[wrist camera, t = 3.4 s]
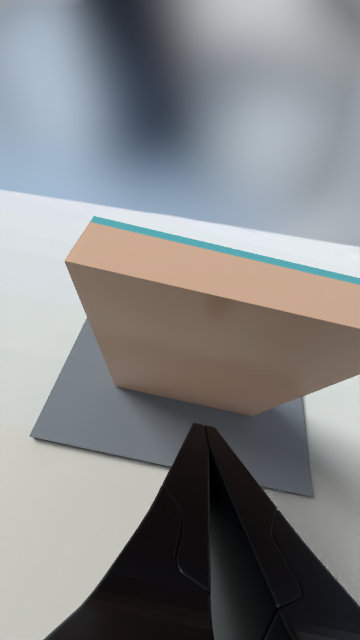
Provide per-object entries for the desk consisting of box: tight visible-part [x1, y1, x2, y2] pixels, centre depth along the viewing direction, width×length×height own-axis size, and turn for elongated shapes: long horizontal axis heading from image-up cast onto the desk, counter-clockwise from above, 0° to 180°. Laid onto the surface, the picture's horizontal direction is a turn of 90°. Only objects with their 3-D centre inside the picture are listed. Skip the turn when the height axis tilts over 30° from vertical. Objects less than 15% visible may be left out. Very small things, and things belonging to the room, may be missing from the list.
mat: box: [30, 318, 313, 497], centre depth 19 cm, size 18×18×1 cm
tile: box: [65, 216, 360, 416], centre depth 11 cm, size 2×10×12 cm, turn 80°
